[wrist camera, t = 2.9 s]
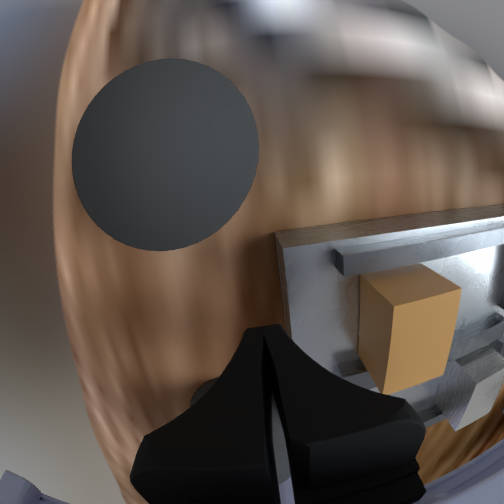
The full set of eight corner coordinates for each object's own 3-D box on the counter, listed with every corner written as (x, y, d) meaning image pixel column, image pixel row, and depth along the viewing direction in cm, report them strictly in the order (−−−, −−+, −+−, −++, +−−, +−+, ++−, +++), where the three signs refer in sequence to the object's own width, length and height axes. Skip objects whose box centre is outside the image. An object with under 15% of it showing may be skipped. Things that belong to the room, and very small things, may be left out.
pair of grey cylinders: (203, 438, 17) (197, 493, 13) (120, 113, 12) (66, 91, 7) (287, 430, 17) (296, 487, 13) (242, 87, 12) (243, 43, 7)
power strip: (293, 421, 17) (307, 492, 11) (274, 231, 14) (297, 276, 8) (535, 329, 17) (570, 355, 11) (556, 199, 14) (603, 212, 8)
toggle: (357, 354, 12) (382, 396, 9) (360, 274, 11) (394, 306, 8) (412, 339, 12) (443, 374, 9) (420, 262, 11) (461, 288, 8)
